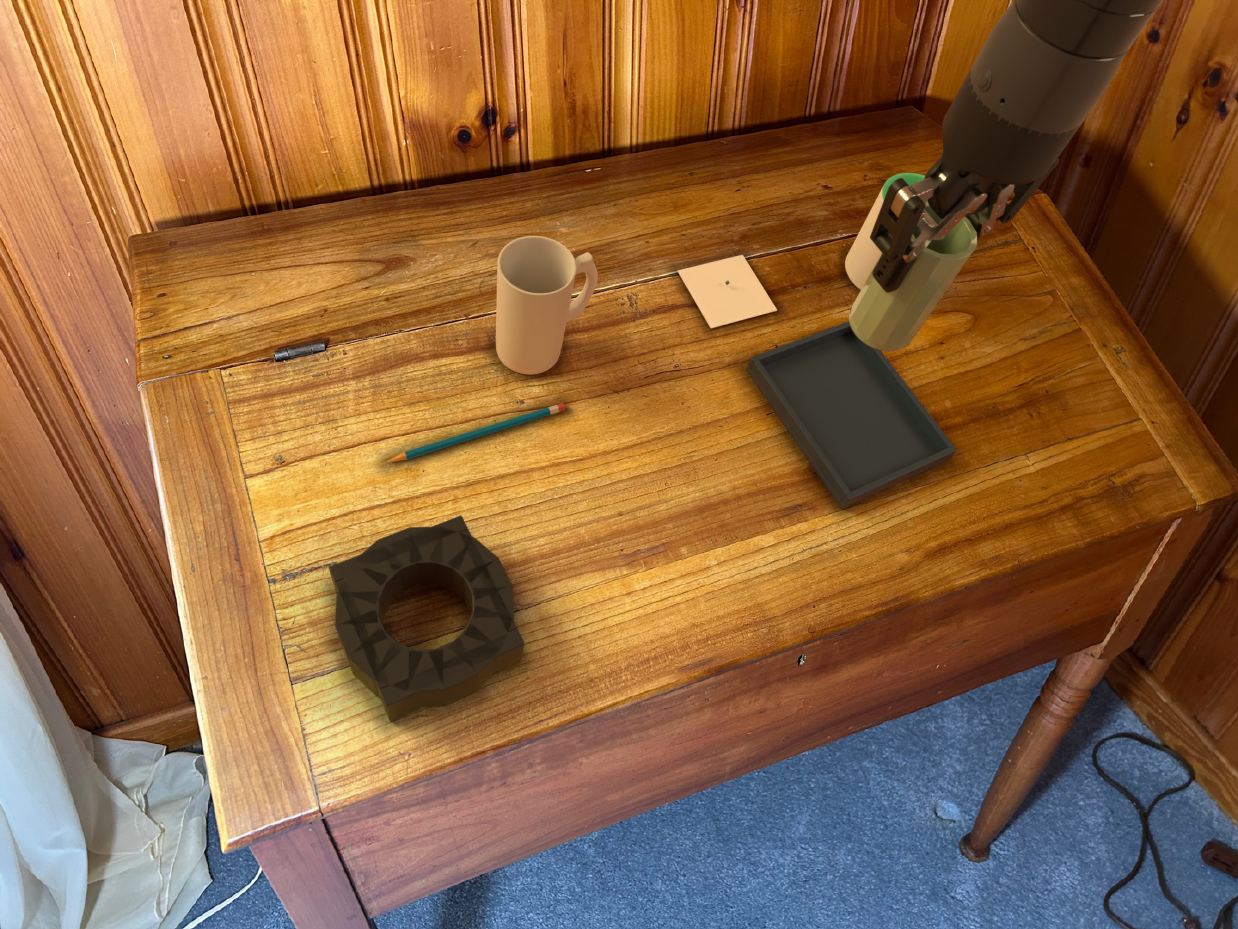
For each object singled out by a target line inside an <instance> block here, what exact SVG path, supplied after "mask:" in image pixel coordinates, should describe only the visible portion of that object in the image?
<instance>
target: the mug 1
mask: <svg viewBox="0 0 1238 929" xmlns="http://www.w3.org/2000/svg"><path fill="white" fill-rule="evenodd" d="M593 257H594V256H593V255H592V254H591V253H590V252H589V251H586V252H584V253H582V254H579V255H578V256H577V257H576V258H575V257H574V255H573V252H571V250H570V249H569V248H568V247H567V246H565V245H564V244H563V243H561V242H559V241H557V240H555V239H553V238H550V237H547V236H541V235H526V236H521V237H518V238H516V239H515V238H514V239H513V240H511V241H510V242H508V243H507V244H506V245H504V247H503V248H502V249H501V251H500V252H499V254H498V257H497V270H496V314H495V316H496V317H495V348H496V349H495V350H496V354H497V356H498V359H499V360H500V362H501V363H502V364H503V365H504V366H505V367H506V368H508V369H509V370H511V371H512V372H515V373H518V374H522V375H538V374H542V373H544V372H547V371H548V370H551V369H552V368H553V367H554V366H555V365H556V364H557V362H558V361H559V358H560V356H561V352H562V348H563V347H562V346H563V342H564V339H565V338H564V337H565V332H566V326H567V324H568V323H569V322H570V321H573V320H576V319H578V318H580V317H581V316H583V314H584V312H585V310H586V308H587V305H588V304H589V302H590V301H591V299H592V296H593V295H594V293H595V290H596V287H597V285H598V278H599V276H598V275H599V273H598V269H597V267H596V264H595V263H594V258H593ZM581 273H582V274H585V276H586V278H585V283H584V286H583V288H582V289H581V291H580V293H579V294H578V295H577V296H576V297H575V298H574V299H573V300H572V295H573V290H574V285H575V280H576V276H577V275H579V274H581Z"/></svg>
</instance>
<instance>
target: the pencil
mask: <svg viewBox="0 0 1238 929" xmlns="http://www.w3.org/2000/svg"><path fill="white" fill-rule="evenodd" d="M563 411H566V405H565V403H564V402H561V403H558V404H555V405H551V406H548V407H544V408H542V409H539V410H535V411H532V412H528V413H526V414H522V415H520V416H516V417H513V418H510V419H506V420H503V421H500V422H496V423H494V424H491V425H487V426H484V427H481V428H478V429H474V430H471V431H468V432H464V433H461V434H458V435H454V436H451V437H449V438H446V439H441V440H439V441H435V442H432V443H429V444H426V445H423V446H420V447H416V448H413V449H410V450H406V451H404V452H402V453H399V454H398V455H396V456H393V457H391V458H390V459H389V460H387V461H386V463H392V462H400V461H406V460H410V459H414V458H417V457H420V456H423V455H426V454H429V453H432V452H436V451H439V450H442V449H446V448H449V447H451V446H455V445H458V444H462V443H465V442H468V441H471V440H474V439H477V438H481V437H484V436H488V435H491V434H493V433H496V432H500V431H503V430H506V429H509V428H512V427H515V426H519V425H521V424H526V423H529V422H531V421H534V420H537V419H538V420H539V419H541V418H545V417H548V416H551V415H554V414H557V413H560V412H563Z"/></svg>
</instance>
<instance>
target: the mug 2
mask: <svg viewBox="0 0 1238 929" xmlns="http://www.w3.org/2000/svg"><path fill="white" fill-rule="evenodd" d="M925 176H926V175H923V174H920V173H914V172H903V173H902V172H901V173H897V174H895V175H892V176H890V177H889V178H888V179H887V180H886V181H885V182H884V184H883V186H882V188H881V190H880V192H879V194H878V195H877V197H876V199H875V201H874V203H873V205H872V207H871V209H870V211H869V213H868V215H867V217H866V218H865V220H864V222H863V225H862V226H861V228H860V230H859V232H858V234H857V235H856V237H855V240H854V241H853V244H852V245H851V247H850V249H849V251H848V253H847V255H846V257H845V261H844V262H845V263H844V268H845V271H846V274H847V276H848V278H849V280H850V281H851V282H852V284H853V285H854V286H855V287H856V288H857V289H859V290H860V291H861V289H862V287H863V286H864V284H865V282H866V280H867V279H868V277H869V275H870V273H871V271H872V270H873V268H874V266H875V264H876V263H877V261H878V259H879V257H880V255H881V254H882V252H881V251H880V250H879V249H878V247H877V246H876V245H875V244H874V243H873V241H872V240H871V239H870V235H871V233H872V230H873V227H874V225H875V222H876V220H877V217H878V214H879V212H880V209H881V206H882V204H883V201H884V199H885V196H886V193H887V191H888V188H889V186H890V185H891V184H892V183H893V182H894V181H895V180H897V179H899V178H903V179H904V180H905V181H906V182H907V184H908V185H909V186H911V185H913V184H915V183H917V182H920V181H922V180H924V179H925ZM926 202H928V200H927V201H926Z"/></svg>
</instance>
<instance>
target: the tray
mask: <svg viewBox="0 0 1238 929" xmlns="http://www.w3.org/2000/svg"><path fill="white" fill-rule="evenodd" d="M745 372H747V374H748V375H749V378H751V380H752V381H753V382H754V384H755V386H756V387H757V389H758V391H759V392H760V393H761V394H762V396H763V397H764V399H765V400H766V402H767V404H769V406H770V408H771V409H772V410H773V412H774V413H775V415H776V416H777V417H778V419H779V421H780V422H781V423H782V425H783V426H784V428H785V429H786V431H787V432H788V433H789V435H790V437H791V438H792V439H793V441H794V442H795V444H796V445H797V446H798V449H799V450H800V451H801V452H802V454H803V455H804V457H805V458H806V460H807V461H808V462H809V464H810V466H811V467H812V468H813V470H814V471H815V473H816V474H817V476H818V477H819V479H820V480H821V482H822V483H823V484H824V486H825V487H826V489H827V491H828V492H829V493H830V495H831V496H832V498H833V499H834V500H835V502H836V503H837V506H839V508H840V509H841V510H844V509H847V508H849V507H850V506H853V505H855V504H857V503H859V502H861V501H864V500H867V499H868V498H870V497H872V496H874V495H877V494H879V493H881V492H883V491H885V490H887V489H890V488H892V487H894V486H897V485H898V484H900V483H904V482H905V481H908V480H909V479H912V478H913V477H916V476H918V475H921V474H922V473H925V472H927V471H929V470H931V469H934V468H936V467H937V466H940V465H942V464H944V463H947V462H948V461H949V460H950V459H951V458H952V457H953V456H954V455H955V454H956V452H957V451H958V449H957V448H956V446H955V445H954V444H953V443H952V441H951V440H950V438H949V437H948V436H947V435H946V433H945V432H944V431H943V429H942V428H941V427H940V426H939V424H938V423H937V422H936V421H935V419H934V418H933V417H932V415H931V414H930V413H929V411H928V410H927V409H926V408H925V406H924V405H923V404H922V402H921V401H920V400H919V398H918V397H917V395H916V394H915V393H914V391H913V390H912V389H911V387H910V386H909V385H908V384H907V383H906V381H905V380H904V379H903V378H902V376H901V375H900V373H898V371H897V370H896V369H895V367H894V366H893V365H892V363H891V362H890V360H889V359H888V358H887V357H886V356H885V355H884V353H883V351H881V350H877V349H875V348H872V347H870V346H868V345H867V344H865V343H864V342H862V341H861V340H860V339H859V338H858V337H857V336H856V335H855V333H854V332H853V330H852V328H851V326H850V322H849V320H848V321H844V322H842V323H840V324H837V325H834V326H831V327H829V328H825V329H824V330H821V331H818V332H816V333H813V334H810V335H808V336H805V337H802V338H799V339H797V340H794V341H791V342H789V343H786V344H782V345H781V346H778V347H775V348H772V349H769V350H767V351H764V352H762V353H758V354H756V355H753V356H751V357H750V358H749V361H748V363H747V365H746V367H745Z"/></svg>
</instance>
